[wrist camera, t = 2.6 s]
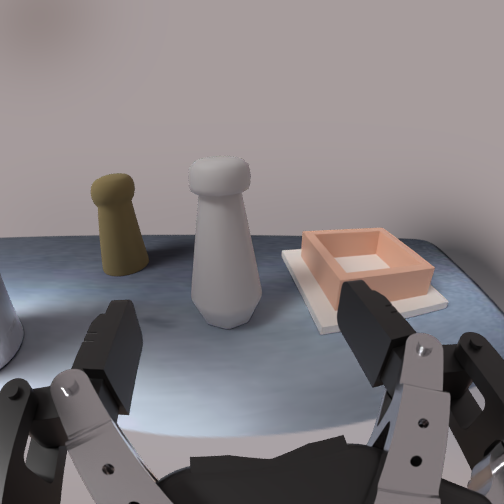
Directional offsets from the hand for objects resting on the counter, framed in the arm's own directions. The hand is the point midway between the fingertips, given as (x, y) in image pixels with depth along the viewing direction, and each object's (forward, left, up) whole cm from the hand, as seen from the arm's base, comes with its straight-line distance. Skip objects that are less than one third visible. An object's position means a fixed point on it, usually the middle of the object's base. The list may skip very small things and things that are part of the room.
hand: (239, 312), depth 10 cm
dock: (+14, +14, -9) cm, 22 cm away
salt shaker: (0, +11, -9) cm, 14 cm away
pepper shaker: (-12, +22, -9) cm, 27 cm away
